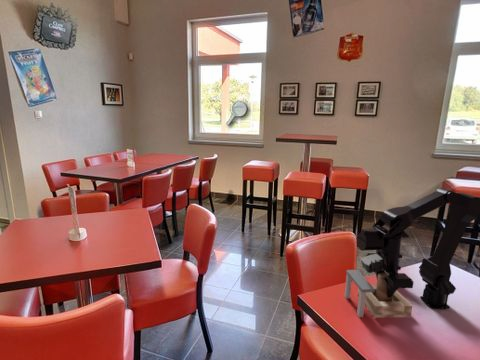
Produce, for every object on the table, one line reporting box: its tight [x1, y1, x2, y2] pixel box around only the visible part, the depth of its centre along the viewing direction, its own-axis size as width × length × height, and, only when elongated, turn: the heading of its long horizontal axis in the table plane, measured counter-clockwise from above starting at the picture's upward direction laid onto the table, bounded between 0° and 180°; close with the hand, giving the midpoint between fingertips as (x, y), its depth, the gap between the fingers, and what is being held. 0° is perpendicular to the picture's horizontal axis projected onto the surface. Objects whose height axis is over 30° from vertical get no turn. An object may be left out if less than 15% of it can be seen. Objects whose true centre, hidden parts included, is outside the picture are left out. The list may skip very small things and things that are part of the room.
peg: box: [375, 272, 393, 302], centre depth 97 cm, size 5×5×9 cm
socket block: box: [357, 284, 413, 319], centre depth 98 cm, size 12×12×4 cm
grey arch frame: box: [344, 269, 375, 318], centre depth 97 cm, size 4×12×10 cm, turn 3°
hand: (384, 292), depth 98 cm, fingers closed on peg, 5 cm apart
